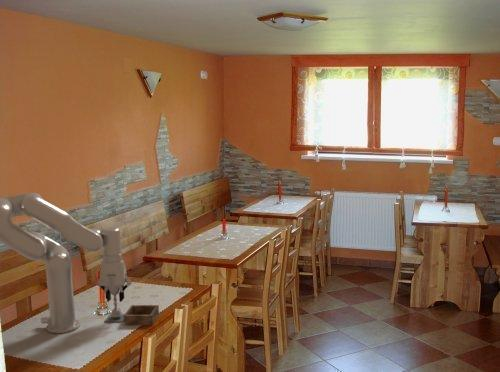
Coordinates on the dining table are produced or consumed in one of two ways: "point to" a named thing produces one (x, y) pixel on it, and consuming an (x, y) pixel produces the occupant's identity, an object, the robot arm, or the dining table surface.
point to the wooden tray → (141, 315)
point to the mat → (115, 319)
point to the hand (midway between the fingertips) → (115, 300)
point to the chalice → (114, 291)
